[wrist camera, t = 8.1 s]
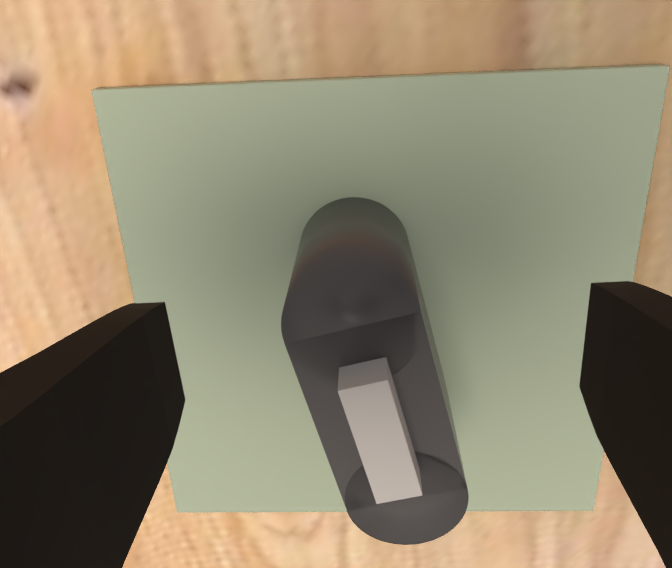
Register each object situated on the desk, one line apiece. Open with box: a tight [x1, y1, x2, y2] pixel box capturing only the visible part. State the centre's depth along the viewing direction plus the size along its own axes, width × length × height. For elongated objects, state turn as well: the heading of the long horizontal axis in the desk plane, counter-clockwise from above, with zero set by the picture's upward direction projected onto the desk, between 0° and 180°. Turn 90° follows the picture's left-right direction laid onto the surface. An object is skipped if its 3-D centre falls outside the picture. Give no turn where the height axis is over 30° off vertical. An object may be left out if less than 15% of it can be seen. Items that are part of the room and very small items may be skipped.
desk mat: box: [91, 64, 670, 512], centre depth 21 cm, size 16×16×1 cm
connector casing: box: [281, 197, 469, 545], centre depth 18 cm, size 3×9×6 cm, turn 16°
